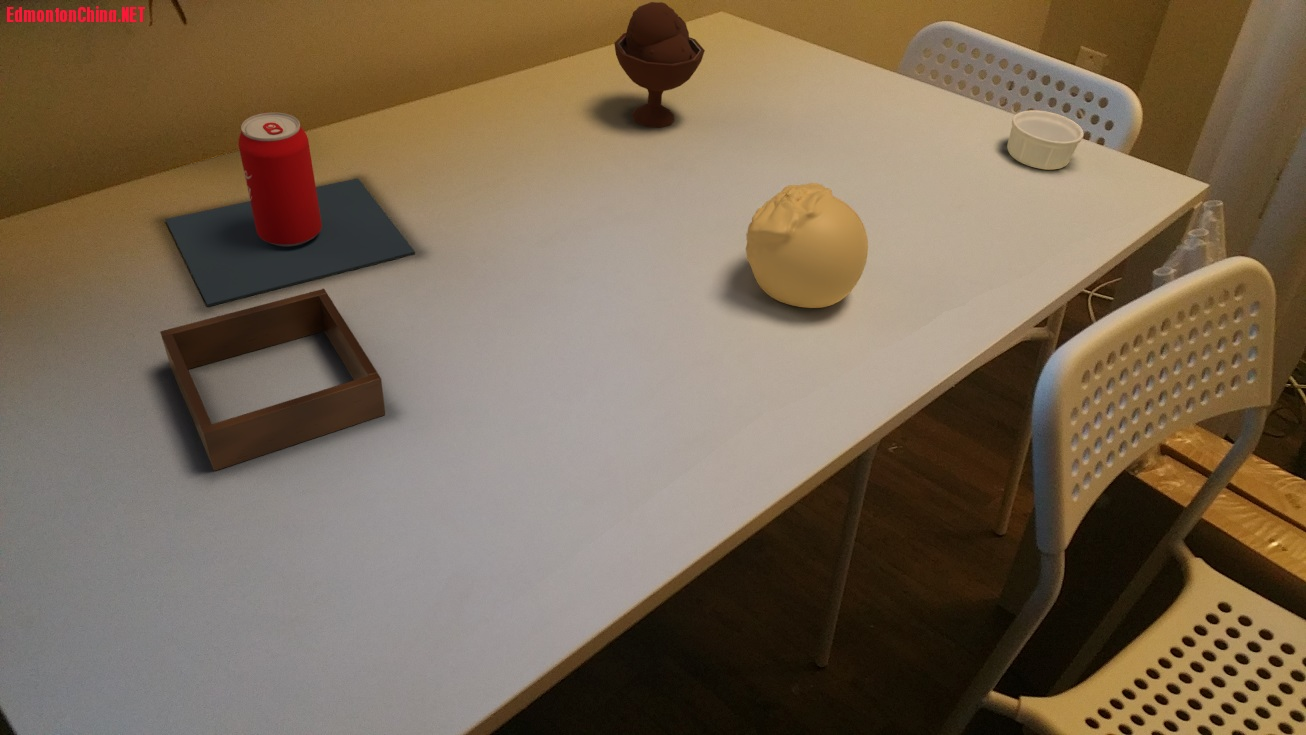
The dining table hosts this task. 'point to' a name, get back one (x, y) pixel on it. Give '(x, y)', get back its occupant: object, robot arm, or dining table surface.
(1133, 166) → the dining table surface
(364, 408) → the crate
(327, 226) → the cloth mat
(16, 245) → the dining table surface
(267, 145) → the beverage can
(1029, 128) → the ramekin
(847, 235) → the sculpture
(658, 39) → the ice cream bowl
